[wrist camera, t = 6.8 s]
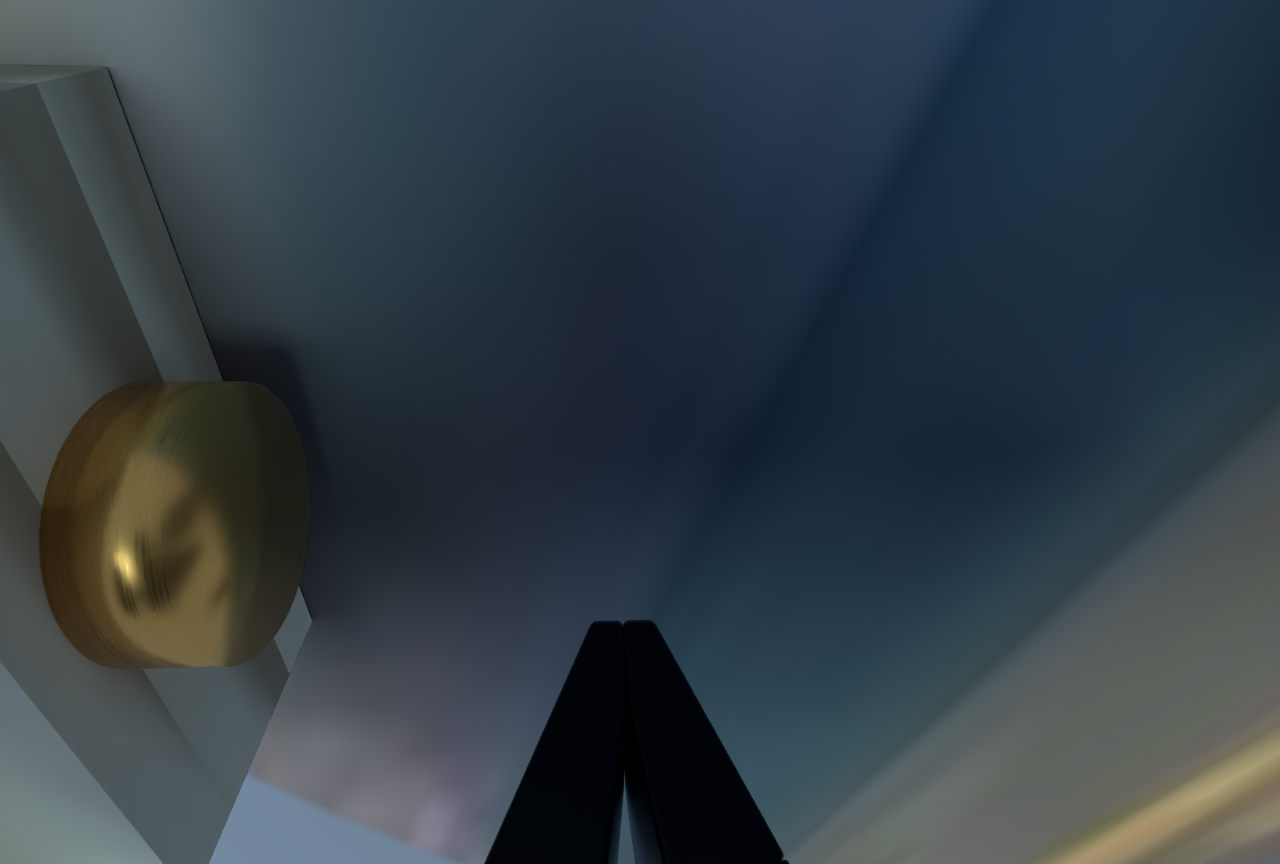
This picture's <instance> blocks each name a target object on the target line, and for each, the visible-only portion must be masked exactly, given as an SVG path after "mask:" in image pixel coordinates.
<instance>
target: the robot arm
mask: <svg viewBox="0 0 1280 864" xmlns="http://www.w3.org/2000/svg"><path fill="white" fill-rule="evenodd" d="M624 774H625V790H626V799H627V807H628V815H629V822H630V829H631V836H632V843H633V850H634V857H635V864H789V862H788V861H787V860H783V857H784V854H783V852H782V850H781V848H780V846H779V845H778V843H777V841H776V839H775V837H774V836H773V834H772V832H771V830H770V828H769V827H768V825H767V823H766V821H765V819H764V818H763V816H762V814H761V812H760V810H759V809H758V807H757V805H756V803H755V801H754V800H753V798H752V796H751V794H750V793H749V791H748V789H747V787H746V785H745V784H744V782H743V780H742V778H741V776H740V775H739V773H738V771H737V769H736V767H735V766H734V764H733V762H732V760H731V758H730V757H729V755H728V753H727V751H726V749H725V748H724V746H723V744H722V742H721V740H720V739H719V737H718V735H717V733H716V732H715V730H714V728H713V726H712V724H711V723H710V721H709V719H708V717H707V715H706V714H705V712H704V710H703V708H702V706H701V705H700V703H699V701H698V699H697V697H696V696H695V694H694V692H693V690H692V688H691V687H690V685H689V683H688V681H687V680H686V678H685V676H684V674H683V672H682V671H681V669H680V667H679V665H678V663H677V662H676V660H675V658H674V656H673V654H672V653H671V651H670V649H669V647H668V645H667V644H666V642H665V640H664V638H663V636H662V635H661V633H660V631H659V629H658V628H657V626H656V624H655V623H654V622H653V621H651V620H628V621H626V622H624V624H623V626H622V624H621V622H619V621H595V622H593V623H592V624H591V625H590V627H589V629H588V631H587V634H586V636H585V638H584V640H583V643H582V645H581V647H580V649H579V652H578V654H577V656H576V658H575V661H574V663H573V665H572V667H571V670H570V672H569V674H568V676H567V679H566V681H565V683H564V685H563V688H562V690H561V692H560V694H559V697H558V699H557V701H556V703H555V706H554V708H553V710H552V712H551V715H550V717H549V719H548V721H547V724H546V726H545V728H544V730H543V733H542V735H541V737H540V739H539V742H538V744H537V746H536V748H535V751H534V753H533V755H532V757H531V760H530V762H529V764H528V766H527V769H526V771H525V773H524V775H523V778H522V780H521V782H520V784H519V787H518V789H517V791H516V793H515V796H514V798H513V800H512V802H511V805H510V807H509V809H508V811H507V814H506V816H505V818H504V820H503V823H502V825H501V827H500V829H499V832H498V834H497V836H496V838H495V841H494V843H493V845H492V847H491V850H490V852H489V854H488V856H487V859H486V861H485V863H484V864H617V862H618V851H619V840H620V829H621V818H622V807H623V791H624ZM782 860H783V861H782Z"/></svg>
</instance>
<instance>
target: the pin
mask: <svg viewBox="0 0 1280 864" xmlns="http://www.w3.org/2000/svg"><path fill="white" fill-rule="evenodd" d="M309 529H310V486H309V476H308V468H307V463H306V458H305V453H304V449H303V445H302V442H301V438H300V436H299V433H298V430H297V427H296V425H295V423H294V421H293V419H292V416H291V415H290V413H289V411H288V410H287V408H286V406H285V405H284V404H283V403H282V401H281V400H280V399H279V398H278V397H277V396H276V395H275V394H274V393H273V392H272V391H271V390H269V389H268V388H266V387H265V386H263V385H260V384H257V383H255V382H246V381H158V382H136V383H131V384H128V385H124V386H121V387H119V388H117V389H115V390H113V391H111V392H109V393H107V394H106V395H104V396H103V397H102V398H101V399H99V400H98V401H97V402H95V403H94V404H93V405H92V406H91V407H90V408H89V409H88V410H87V411H86V412H85V413H84V414H83V415H82V416H81V418H80V419H79V420H78V422H77V423H76V424H75V426H74V427H73V429H72V430H71V431H70V433H69V435H68V436H67V438H66V440H65V442H64V444H63V445H62V447H61V449H60V451H59V453H58V456H57V458H56V461H55V463H54V465H53V468H52V470H51V474H50V477H49V480H48V484H47V487H46V490H45V495H44V501H43V506H42V511H41V520H40V532H39V553H40V566H41V573H42V581H43V585H44V589H45V593H46V596H47V600H48V603H49V606H50V608H51V611H52V613H53V616H54V618H55V620H56V622H57V624H58V626H59V627H60V629H61V631H62V632H63V634H64V636H65V637H66V638H67V639H68V641H69V642H70V643H71V644H72V645H73V647H74V648H75V649H76V650H78V651H79V652H80V653H81V654H82V655H84V656H85V657H86V658H87V659H89V660H91V661H93V662H95V663H97V664H99V665H102V666H105V667H109V668H112V669H156V668H194V667H230V666H236V665H241V664H243V663H245V662H248V661H250V660H251V659H253V658H254V657H255V656H257V655H258V654H260V653H261V652H262V651H263V650H264V649H265V648H266V647H267V646H268V644H269V643H270V642H271V641H272V640H273V638H274V637H275V636H276V634H277V633H278V631H279V629H280V628H281V626H282V625H283V623H284V621H285V619H286V617H287V615H288V613H289V611H290V608H291V606H292V604H293V601H294V599H295V596H296V593H297V590H298V587H299V584H300V580H301V576H302V573H303V569H304V564H305V559H306V553H307V547H308V540H309Z"/></svg>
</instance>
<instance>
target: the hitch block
mask: <svg viewBox="0 0 1280 864" xmlns="http://www.w3.org/2000/svg"><path fill="white" fill-rule="evenodd" d="M158 381H223V380H222V377H221V374H220V372H219V369H218V366H217V364H216V361H215V358H214V356H213V353H212V350H211V347H210V345H209V342H208V339H207V337H206V334H205V331H204V329H203V326H202V323H201V321H200V318H199V315H198V312H197V310H196V307H195V304H194V302H193V299H192V296H191V294H190V291H189V288H188V286H187V283H186V280H185V277H184V275H183V272H182V269H181V267H180V264H179V261H178V259H177V256H176V253H175V250H174V248H173V245H172V242H171V240H170V237H169V234H168V232H167V229H166V226H165V224H164V221H163V218H162V215H161V213H160V210H159V207H158V205H157V202H156V199H155V197H154V194H153V191H152V188H151V186H150V183H149V180H148V178H147V175H146V172H145V170H144V167H143V164H142V162H141V159H140V156H139V153H138V151H137V148H136V145H135V143H134V140H133V137H132V135H131V132H130V129H129V127H128V124H127V121H126V118H125V116H124V113H123V110H122V108H121V105H120V102H119V100H118V97H117V94H116V91H115V89H114V86H113V83H112V81H111V78H110V75H109V73H108V70H107V67H78V66H38V65H0V864H209V862H210V859H211V857H212V855H213V852H214V850H215V847H216V845H217V843H218V840H219V838H220V836H221V833H222V831H223V829H224V826H225V824H226V822H227V819H228V817H229V815H230V812H231V810H232V808H233V805H234V803H235V801H236V798H237V796H238V793H239V791H240V789H241V786H242V784H243V782H244V780H245V777H246V775H247V773H248V770H249V768H250V766H251V763H252V761H253V758H254V756H255V754H256V751H257V749H258V747H259V744H260V742H261V740H262V737H263V735H264V733H265V730H266V728H267V726H268V723H269V721H270V719H271V716H272V714H273V712H274V709H275V707H276V705H277V702H278V700H279V698H280V695H281V693H282V691H283V688H284V686H285V684H286V681H287V679H288V676H289V674H290V672H291V669H292V667H293V665H294V662H295V660H296V658H297V655H298V653H299V651H300V648H301V646H302V644H303V641H304V639H305V637H306V634H307V632H308V630H309V627H310V625H311V623H312V620H311V617H310V614H309V612H308V609H307V606H306V604H305V601H304V598H303V595H302V593H301V590H300V587H298V590H297V593H296V596H295V599H294V601H293V604H292V606H291V608H290V611H289V613H288V615H287V617H286V619H285V621H284V623H283V625H282V626H281V628H280V629H279V631H278V633H277V634H276V636H275V637H274V638H273V640H272V641H271V642H270V643H269V644H268V646H267V647H266V648H265V649H264V650H263V651H262V652H261V653H260V654H258V655H257V656H255V657H254V658H253V659H251V660H250V661H248V662H245V663H243V664H241V665H236V666H230V667H194V668H156V669H112V668H109V667H105V666H102V665H99V664H97V663H95V662H93V661H91V660H89V659H87V658H86V657H85V656H84V655H82V654H81V653H80V652H79V651H78V650H76V649H75V648H74V647H73V645H72V644H71V643H70V642H69V641H68V639H67V638H66V637H65V636H64V634H63V632H62V631H61V629H60V627H59V626H58V624H57V622H56V620H55V618H54V616H53V613H52V611H51V608H50V606H49V603H48V600H47V596H46V593H45V589H44V585H43V581H42V573H41V566H40V553H39V532H40V520H41V511H42V506H43V501H44V495H45V490H46V487H47V484H48V480H49V477H50V474H51V470H52V468H53V465H54V463H55V461H56V458H57V456H58V453H59V451H60V449H61V447H62V445H63V444H64V442H65V440H66V438H67V436H68V435H69V433H70V431H71V430H72V429H73V427H74V426H75V424H76V423H77V422H78V420H79V419H80V418H81V416H82V415H83V414H84V413H85V412H86V411H87V410H88V409H89V408H90V407H91V406H92V405H93V404H94V403H95V402H97V401H98V400H99V399H101V398H102V397H103V396H104V395H106V394H107V393H109V392H111V391H113V390H115V389H117V388H119V387H121V386H124V385H128V384H131V383H136V382H158Z"/></svg>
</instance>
